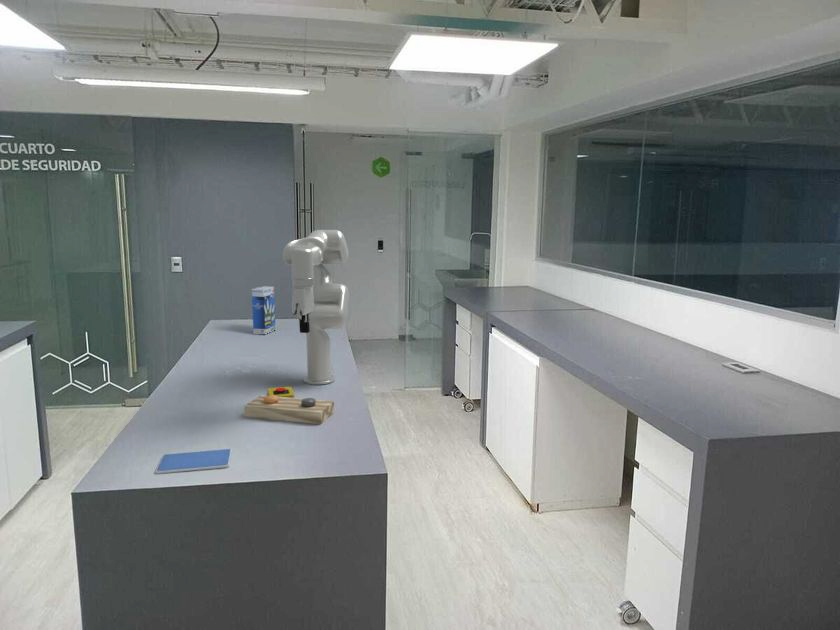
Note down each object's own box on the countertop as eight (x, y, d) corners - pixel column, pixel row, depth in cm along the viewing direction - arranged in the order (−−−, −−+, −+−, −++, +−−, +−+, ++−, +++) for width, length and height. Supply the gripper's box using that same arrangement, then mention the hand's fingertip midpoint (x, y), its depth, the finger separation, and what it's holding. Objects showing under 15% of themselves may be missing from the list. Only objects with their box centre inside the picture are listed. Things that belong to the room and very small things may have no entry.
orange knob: (268, 409, 216) (267, 394, 215) (280, 410, 215) (280, 395, 214) (262, 413, 211) (261, 398, 210) (274, 415, 210) (274, 399, 209)
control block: (261, 405, 220) (261, 395, 220) (334, 412, 214) (334, 401, 213) (244, 416, 209) (244, 405, 208) (321, 423, 203) (320, 412, 202)
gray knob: (305, 412, 213) (304, 397, 212) (318, 413, 212) (317, 398, 211) (299, 417, 208) (299, 401, 207) (312, 418, 207) (312, 403, 206)
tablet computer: (154, 476, 164) (154, 471, 164) (163, 457, 176) (162, 453, 176) (229, 469, 168) (229, 465, 168) (232, 452, 181) (232, 448, 180)
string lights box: (265, 335, 338) (263, 289, 334) (252, 334, 340) (250, 288, 335) (276, 330, 351) (274, 286, 346) (263, 329, 353) (262, 285, 348)
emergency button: (269, 395, 220) (266, 383, 234) (269, 406, 221) (266, 394, 235) (295, 393, 223) (290, 381, 237) (295, 404, 224) (291, 392, 238)
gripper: (301, 279, 226) (303, 327, 230) (284, 285, 211) (286, 336, 215) (320, 280, 224) (322, 328, 228) (304, 286, 210) (306, 337, 214)
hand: (304, 332), depth 222 cm, fingers closed
